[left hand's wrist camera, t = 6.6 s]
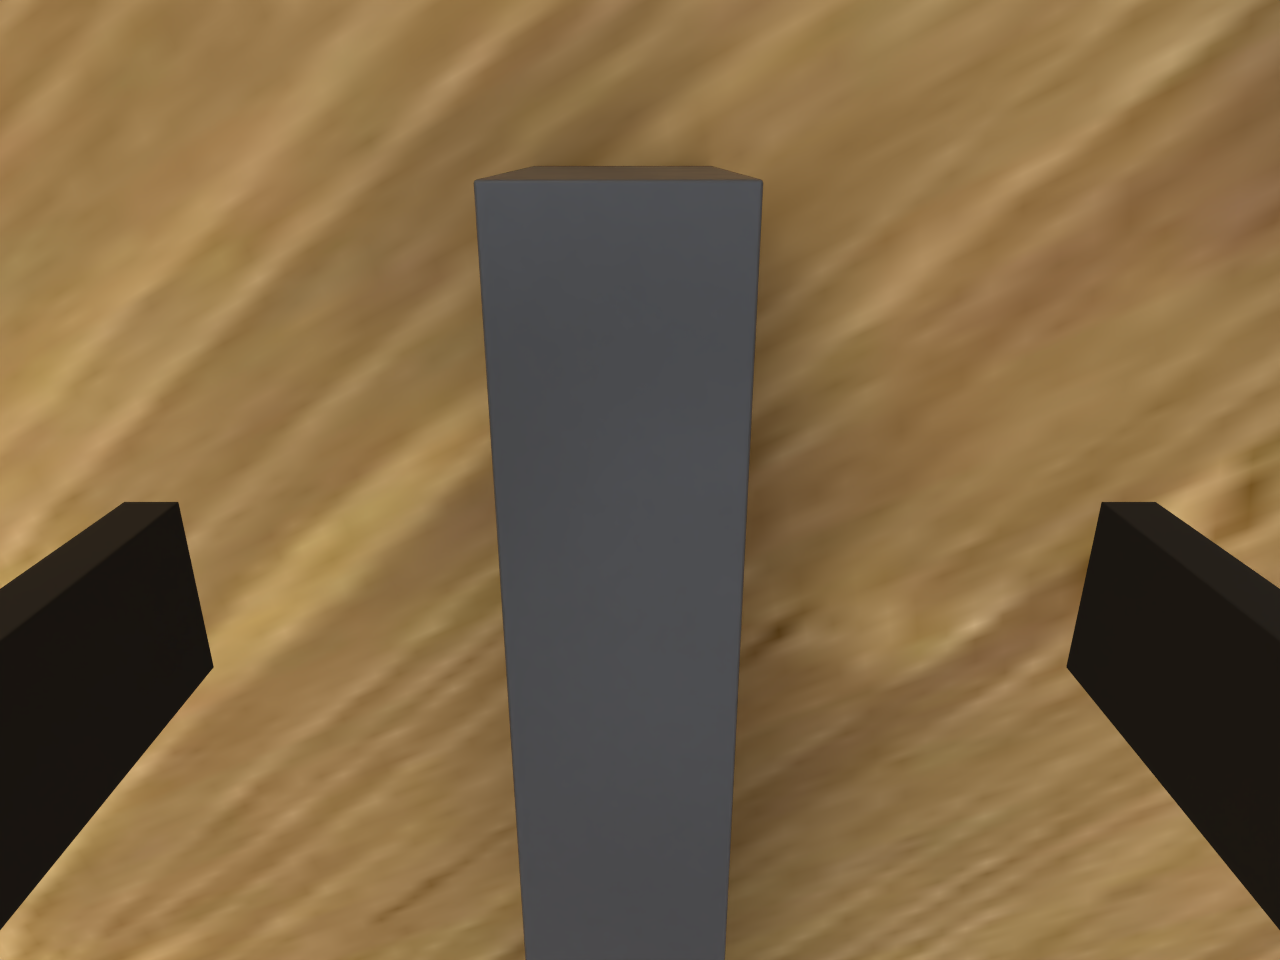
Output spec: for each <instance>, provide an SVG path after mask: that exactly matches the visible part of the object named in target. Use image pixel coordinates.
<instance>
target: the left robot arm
mask: <svg viewBox="0 0 1280 960" xmlns="http://www.w3.org/2000/svg"><path fill="white" fill-rule="evenodd" d="M212 668H213V662H212V658H211V653H210V648H209V643H208V639H207V634H206V629H205V625H204V620H203V615H202V611H201V606H200V601H199V597H198V592H197V587H196V583H195V578H194V573H193V569H192V564H191V559H190V555H189V550H188V545H187V541H186V536H185V531H184V527H183V522H182V517H181V513H180V508H179V503H178V502H124V503H122V504H121V505H120V506H118V507H117V508H115V509H114V510H112V511H111V512H109V513H108V514H107V515H105V516H104V517H102V518H101V519H99V520H98V521H97V522H95V523H94V524H92V525H91V526H89V527H88V528H87V529H85V530H84V531H82V532H81V533H79V534H78V535H77V536H75V537H74V538H72V539H71V540H69V541H68V542H67V543H65V544H64V545H62V546H61V547H59V548H58V549H57V550H55V551H54V552H52V553H51V554H49V555H48V556H47V557H45V558H44V559H42V560H41V561H39V562H38V563H37V564H35V565H34V566H32V567H31V568H29V569H28V570H27V571H25V572H24V573H22V574H21V575H19V576H18V577H17V578H15V579H14V580H12V581H11V582H9V583H8V584H7V585H5V586H4V587H2V588H1V589H0V930H1V928H2V927H3V926H4V925H5V924H6V922H7V921H8V920H9V919H10V917H11V916H12V915H13V914H14V912H15V911H16V910H17V909H18V908H19V906H20V905H21V904H22V903H23V901H24V900H25V899H26V898H27V896H28V895H29V894H30V893H31V892H32V890H33V889H34V888H35V887H36V885H37V884H38V883H39V882H40V880H41V879H42V878H43V877H44V875H45V874H46V873H47V872H48V871H49V869H50V868H51V867H52V866H53V864H54V863H55V862H56V861H57V859H58V858H59V857H60V856H61V855H62V853H63V852H64V851H65V850H66V848H67V847H68V846H69V845H70V843H71V842H72V841H73V840H74V839H75V837H76V836H77V835H78V834H79V832H80V831H81V830H82V829H83V827H84V826H85V825H86V824H87V822H88V821H89V820H90V819H91V818H92V816H93V815H94V814H95V813H96V811H97V810H98V809H99V808H100V806H101V805H102V804H103V803H104V802H105V800H106V799H107V798H108V797H109V795H110V794H111V793H112V792H113V790H114V789H115V788H116V787H117V786H118V784H119V783H120V782H121V781H122V779H123V778H124V777H125V776H126V774H127V773H128V772H129V771H130V769H131V768H132V767H133V766H134V765H135V763H136V762H137V761H138V760H139V758H140V757H141V756H142V755H143V753H144V752H145V751H146V750H147V749H148V747H149V746H150V745H151V744H152V742H153V741H154V740H155V739H156V737H157V736H158V735H159V734H160V732H161V731H162V730H163V729H164V728H165V726H166V725H167V724H168V723H169V721H170V720H171V719H172V718H173V716H174V715H175V714H176V713H177V712H178V710H179V709H180V708H181V707H182V705H183V704H184V703H185V702H186V700H187V699H188V698H189V697H190V696H191V694H192V693H193V692H194V691H195V689H196V688H197V687H198V686H199V684H200V683H201V682H202V681H203V679H204V678H205V677H206V676H207V675H208V673H209V672H210V671H211V670H212ZM1067 668H1068V670H1069V671H1070V672H1071V673H1072V675H1073V676H1074V677H1075V678H1076V679H1077V681H1078V682H1079V683H1080V684H1081V686H1082V687H1083V688H1084V689H1085V691H1086V692H1087V693H1088V694H1089V696H1090V697H1091V698H1092V699H1093V700H1094V702H1095V703H1096V704H1097V705H1098V707H1099V708H1100V709H1101V710H1102V712H1103V713H1104V714H1105V715H1106V716H1107V718H1108V719H1109V720H1110V721H1111V723H1112V724H1113V725H1114V726H1115V728H1116V729H1117V730H1118V731H1119V733H1120V734H1121V735H1122V736H1123V737H1124V739H1125V740H1126V741H1127V742H1128V744H1129V745H1130V746H1131V747H1132V749H1133V750H1134V751H1135V752H1136V753H1137V755H1138V756H1139V757H1140V758H1141V760H1142V761H1143V762H1144V763H1145V765H1146V766H1147V767H1148V768H1149V769H1150V771H1151V772H1152V773H1153V774H1154V776H1155V777H1156V778H1157V779H1158V781H1159V782H1160V783H1161V784H1162V786H1163V787H1164V788H1165V789H1166V790H1167V792H1168V793H1169V794H1170V795H1171V797H1172V798H1173V799H1174V800H1175V802H1176V803H1177V804H1178V805H1179V806H1180V808H1181V809H1182V810H1183V811H1184V813H1185V814H1186V815H1187V816H1188V818H1189V819H1190V820H1191V821H1192V822H1193V824H1194V825H1195V826H1196V827H1197V829H1198V830H1199V831H1200V832H1201V834H1202V835H1203V836H1204V837H1205V839H1206V840H1207V841H1208V842H1209V843H1210V845H1211V846H1212V847H1213V848H1214V850H1215V851H1216V852H1217V853H1218V855H1219V856H1220V857H1221V858H1222V859H1223V861H1224V862H1225V863H1226V864H1227V866H1228V867H1229V868H1230V869H1231V871H1232V872H1233V873H1234V874H1235V875H1236V877H1237V878H1238V879H1239V880H1240V882H1241V883H1242V884H1243V885H1244V887H1245V888H1246V889H1247V890H1248V892H1249V893H1250V894H1251V895H1252V896H1253V898H1254V899H1255V900H1256V901H1257V903H1258V904H1259V905H1260V906H1261V908H1262V909H1263V910H1264V911H1265V912H1266V914H1267V915H1268V916H1269V917H1270V919H1271V920H1272V921H1273V922H1274V924H1275V925H1276V926H1277V927H1278V928H1279V930H1280V589H1279V588H1278V587H1276V586H1275V585H1273V584H1272V583H1271V582H1269V581H1268V580H1266V579H1265V578H1263V577H1262V576H1261V575H1259V574H1258V573H1256V572H1255V571H1253V570H1252V569H1251V568H1249V567H1248V566H1246V565H1245V564H1243V563H1242V562H1241V561H1239V560H1238V559H1236V558H1235V557H1233V556H1232V555H1231V554H1229V553H1228V552H1226V551H1225V550H1223V549H1222V548H1221V547H1219V546H1218V545H1216V544H1215V543H1213V542H1212V541H1211V540H1209V539H1208V538H1206V537H1205V536H1203V535H1202V534H1201V533H1199V532H1198V531H1196V530H1195V529H1193V528H1192V527H1191V526H1189V525H1188V524H1186V523H1185V522H1183V521H1182V520H1181V519H1179V518H1178V517H1176V516H1175V515H1173V514H1172V513H1171V512H1169V511H1168V510H1166V509H1165V508H1163V507H1162V506H1160V505H1159V504H1158V503H1156V502H1102V503H1101V508H1100V513H1099V517H1098V522H1097V527H1096V531H1095V536H1094V541H1093V545H1092V550H1091V555H1090V559H1089V564H1088V569H1087V573H1086V578H1085V583H1084V587H1083V592H1082V597H1081V601H1080V606H1079V611H1078V615H1077V620H1076V625H1075V629H1074V634H1073V639H1072V643H1071V648H1070V653H1069V658H1068V662H1067Z"/></svg>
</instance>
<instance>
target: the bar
mask: <svg viewBox="0 0 1280 960" xmlns="http://www.w3.org/2000/svg"><path fill="white" fill-rule="evenodd" d="M474 194H475V209H476V224H477V239H478V254H479V269H480V284H481V299H482V314H483V329H484V344H485V359H486V374H487V389H488V404H489V419H490V434H491V449H492V464H493V479H494V494H495V509H496V524H497V539H498V554H499V569H500V584H501V599H502V614H503V629H504V643H505V658H506V673H507V688H508V703H509V718H510V733H511V748H512V763H513V778H514V793H515V808H516V823H517V838H518V853H519V868H520V883H521V898H522V913H523V928H524V943H525V958H526V960H725V944H726V924H727V904H728V884H729V863H730V843H731V823H732V803H733V783H734V762H735V742H736V722H737V702H738V681H739V661H740V641H741V621H742V600H743V580H744V560H745V540H746V520H747V499H748V479H749V459H750V439H751V418H752V398H753V378H754V358H755V337H756V317H757V297H758V277H759V257H760V236H761V216H762V196H763V181H762V180H760V179H757V178H753V177H749V176H746V175H742V174H738V173H735V172H731V171H727V170H724V169H720V168H716V167H713V166H533V167H529V168H524V169H520V170H516V171H511V172H507V173H503V174H499V175H494V176H490V177H486V178H481V179H477V180H475V181H474Z"/></svg>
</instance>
